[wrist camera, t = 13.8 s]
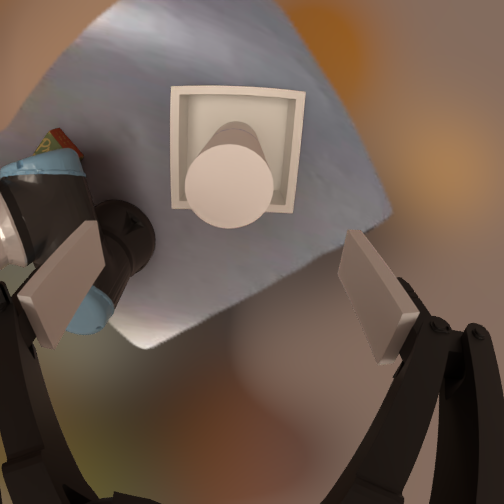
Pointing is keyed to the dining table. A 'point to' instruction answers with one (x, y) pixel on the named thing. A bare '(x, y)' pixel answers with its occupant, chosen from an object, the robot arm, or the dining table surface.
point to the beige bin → (244, 110)
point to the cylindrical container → (230, 178)
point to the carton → (56, 143)
